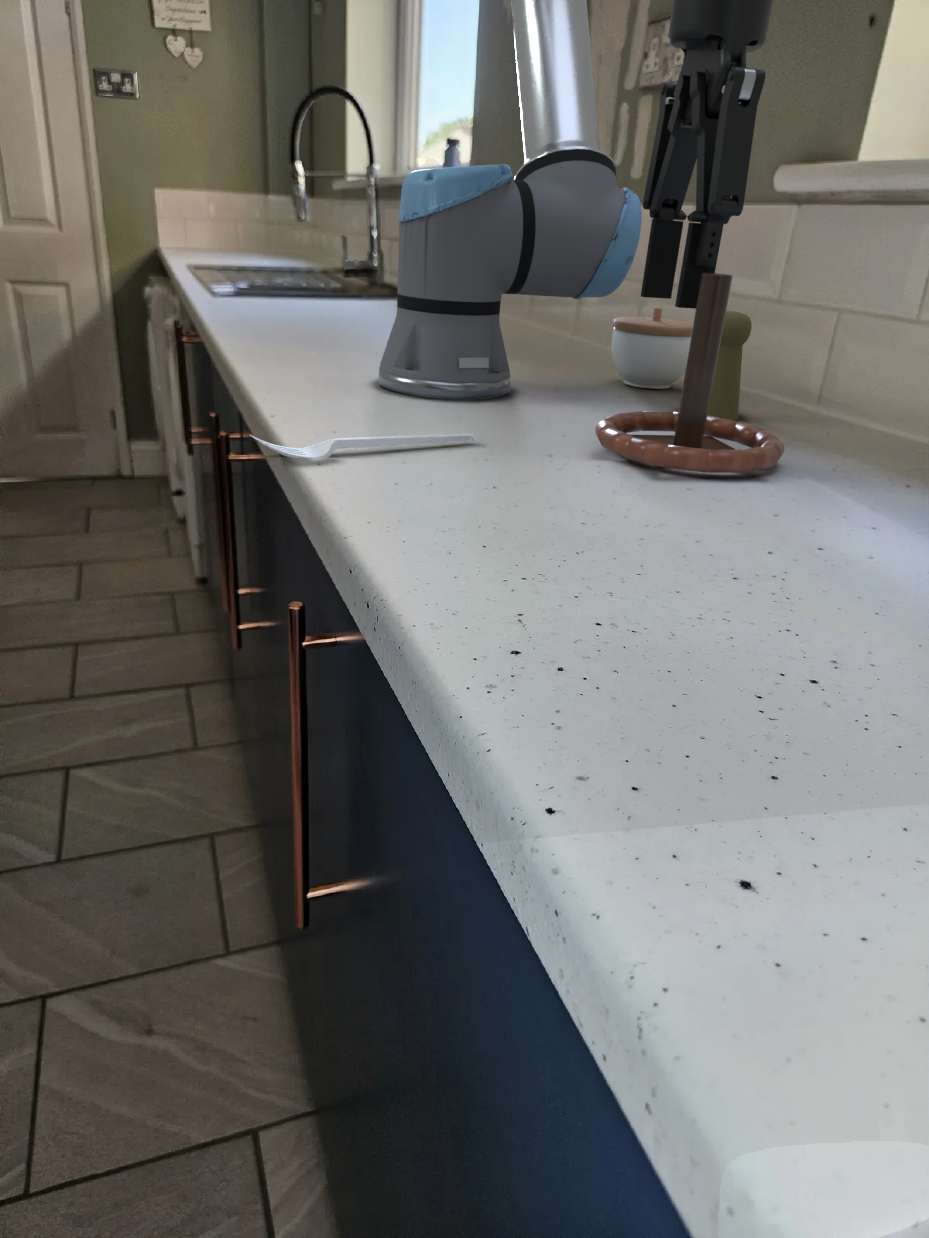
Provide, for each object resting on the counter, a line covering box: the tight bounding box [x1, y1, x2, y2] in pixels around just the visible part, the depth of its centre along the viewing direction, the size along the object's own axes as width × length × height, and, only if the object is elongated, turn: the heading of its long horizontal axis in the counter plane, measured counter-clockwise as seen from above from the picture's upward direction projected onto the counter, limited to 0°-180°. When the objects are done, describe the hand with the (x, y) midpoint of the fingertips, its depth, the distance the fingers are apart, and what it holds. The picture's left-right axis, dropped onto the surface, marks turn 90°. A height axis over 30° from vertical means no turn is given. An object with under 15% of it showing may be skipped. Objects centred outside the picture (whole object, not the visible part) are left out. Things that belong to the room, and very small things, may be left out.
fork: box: [249, 433, 475, 459], centre depth 72 cm, size 3×20×2 cm, turn 122°
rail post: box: [630, 272, 737, 470], centre depth 73 cm, size 9×9×16 cm
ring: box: [594, 410, 785, 474], centre depth 75 cm, size 16×16×2 cm
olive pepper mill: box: [707, 309, 753, 421], centre depth 95 cm, size 6×6×11 cm
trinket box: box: [611, 307, 694, 390], centre depth 111 cm, size 11×11×9 cm
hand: (672, 302), depth 77 cm, fingers open, 7 cm apart
